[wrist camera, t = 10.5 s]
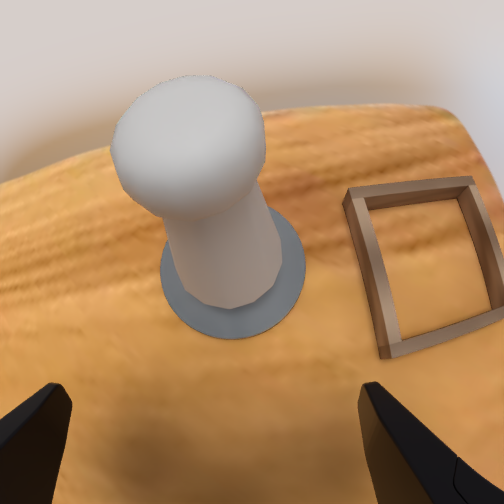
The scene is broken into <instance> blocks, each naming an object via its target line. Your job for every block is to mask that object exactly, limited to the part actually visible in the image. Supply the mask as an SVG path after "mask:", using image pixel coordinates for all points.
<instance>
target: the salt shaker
mask: <svg viewBox="0 0 504 504" xmlns="http://www.w3.org/2000/svg"><path fill="white" fill-rule="evenodd" d="M110 153H111V156H112V159H113V162H114V165H115V169H116V172H117V175H118V177H119V180H120V182H121V185H122V187H123V190H124V191H125V192H126V193H127V194H128V195H129V196H130V197H131V198H132V199H133V200H134V201H136V202H137V203H138V204H140V205H141V206H143V207H144V208H145V209H147V210H148V211H150V212H151V213H153V214H154V215H155V216H158V217H162V218H163V221H164V225H165V229H166V233H167V237H168V241H169V245H170V249H171V253H172V257H173V261H174V265H175V268H176V271H177V273H178V275H179V278H180V280H181V282H182V284H183V287H184V289H185V290H186V291H187V292H188V293H190V294H191V295H193V296H194V297H195V298H197V299H198V300H199V301H201V302H202V303H204V304H206V305H211V306H216V307H221V308H226V309H233V308H236V307H239V306H243V305H246V304H249V303H253V302H254V301H256V300H257V299H258V298H259V297H260V296H262V295H263V294H264V293H265V292H266V291H268V290H269V289H270V288H271V287H272V286H273V285H274V282H275V280H276V277H277V275H278V272H279V270H280V267H281V265H282V251H281V239H280V237H279V234H278V232H277V229H276V227H275V224H274V222H273V219H272V217H271V214H270V212H269V209H268V207H267V204H266V202H265V199H264V197H263V195H262V192H261V190H260V187H259V185H258V182H257V177H258V175H259V173H260V171H261V169H262V167H263V165H264V163H265V155H266V143H265V130H264V120H263V117H262V114H261V111H260V108H259V106H258V105H257V103H256V102H255V101H254V100H253V99H252V98H251V97H250V96H249V94H248V93H247V92H246V91H245V90H244V89H243V88H241V87H239V86H236V85H234V84H231V83H229V82H227V81H224V80H221V79H219V78H216V77H213V76H183V77H179V78H176V79H172V80H169V81H166V82H162V83H159V84H158V85H156V86H154V87H153V88H152V89H150V90H148V91H147V92H145V93H144V94H142V95H141V96H139V97H138V98H137V99H136V100H135V101H134V102H133V104H132V105H131V106H130V107H129V108H128V110H127V111H126V112H125V114H124V115H123V116H122V117H121V119H120V120H119V122H118V123H117V125H116V127H115V131H114V135H113V139H112V143H111V148H110Z"/></svg>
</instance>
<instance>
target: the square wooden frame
mask: <svg viewBox="0 0 504 504" xmlns="http://www.w3.org/2000/svg"><path fill="white" fill-rule="evenodd" d="M454 198H457V200H458V202H459V205H460V207H461V210H462V212H463V215H464V217H465V220H466V223H467V225H468V228H469V231H470V234H471V237H472V240H473V243H474V246H475V249H476V252H477V255H478V258H479V261H480V265H481V268H482V271H483V275H484V279H485V282H486V286H487V290H488V294H489V298H490V302H491V306H492V310H490V311H488V312H485V313H482V314H480V315H477V316H474V317H472V318H469V319H466V320H463V321H461V322H458V323H455V324H452V325H449V326H446V327H443V328H440V329H437V330H434V331H431V332H428V333H424V334H421V335H418V336H415V337H411V338H408V339H404V340H402V339H401V334H400V329H399V324H398V320H397V315H396V311H395V306H394V302H393V298H392V294H391V290H390V286H389V282H388V278H387V274H386V270H385V266H384V263H383V259H382V255H381V252H380V248H379V245H378V242H377V238H376V235H375V231H374V228H373V225H372V222H371V219H370V215H369V212H368V210H372V209H379V208H386V207H393V206H401V205H408V204H415V203H423V202H430V201H438V200H446V199H454ZM343 207H344V210H345V213H346V217H347V220H348V224H349V227H350V231H351V234H352V238H353V241H354V245H355V249H356V252H357V256H358V260H359V264H360V268H361V272H362V276H363V280H364V284H365V288H366V292H367V297H368V301H369V306H370V310H371V315H372V319H373V324H374V329H375V334H376V339H377V344H378V349H379V354H380V359H391V358H395V357H399V356H402V355H405V354H409V353H412V352H415V351H418V350H421V349H424V348H427V347H430V346H433V345H436V344H439V343H442V342H445V341H448V340H451V339H453V338H456V337H459V336H461V335H464V334H467V333H469V332H472V331H474V330H477V329H479V328H482V327H484V326H487V325H489V324H492V323H494V322H496V321H499V320H501V319H503V318H504V258H503V255H502V252H501V249H500V246H499V243H498V240H497V237H496V234H495V231H494V228H493V226H492V223H491V220H490V218H489V215H488V213H487V210H486V208H485V205H484V203H483V200H482V198H481V196H480V193H479V191H478V189H477V186H476V184H475V182H474V180H473V178H472V176H461V177H448V178H437V179H426V180H416V181H406V182H396V183H387V184H378V185H370V186H361V187H353V188H348V190H347V193H346V195H345V198H344V200H343Z"/></svg>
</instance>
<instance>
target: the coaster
mask: <svg viewBox="0 0 504 504" xmlns="http://www.w3.org/2000/svg"><path fill="white" fill-rule="evenodd" d="M267 207H268V206H267ZM268 209H269V212H270V214H271V217H272V219H273V222H274V224H275V227H276V229H277V232H278V234H279V237H280V239H281V251H282V265H281V267H280V270H279V272H278V275H277V277H276V280H275V282H274V285H273V286H272V287H271V288H270V289H269V290H268V291H266V292H265V293H264V294H263V295H262V296H260V297H259V298H258V299H257V300H256V301H254V302H253V303H249V304H246V305H243V306H239V307H236V308H233V309H226V308H221V307H216V306H211V305H206V304H204V303H202V302H201V301H199V300H198V299H197V298H195V297H194V296H193V295H191V294H190V293H188V292H187V291H186V290H185V289H184V287H183V284H182V282H181V280H180V278H179V275H178V273H177V271H176V268H175V265H174V261H173V257H172V253H171V249H170V245H169V241H168V240H167V242H166V245H165V247H164V250H163V254H162V258H161V266H160V276H161V283H162V288H163V291H164V294H165V297H166V299H167V301H168V303H169V305H170V306H171V308H172V309H173V311H174V312H175V313H176V314H177V315H178V317H179V318H180V319H181V320H183V321H184V322H185V323H186V324H187V325H189V326H190V327H192V328H193V329H195V330H197V331H199V332H201V333H203V334H206V335H209V336H212V337H215V338H221V339H243V338H248V337H252V336H255V335H258V334H260V333H263V332H265V331H267V330H268V329H270V328H272V327H273V326H275V325H276V324H277V323H279V322H280V321H281V320H282V319H283V318H284V317H285V316H286V315H287V314H288V313H289V311H290V310H291V309H292V307H293V306H294V304H295V302H296V301H297V299H298V297H299V294H300V292H301V289H302V286H303V282H304V278H305V269H306V267H305V255H304V250H303V247H302V244H301V241H300V239H299V237H298V235H297V233H296V231H295V230H294V228H293V227H292V225H291V224H290V223H289V222H288V221H287V220H286V219H285V218H284V217H283V216H282V215H281V214H280V213H278V212H277V211H275V210H274V209H272V208H270V207H268Z"/></svg>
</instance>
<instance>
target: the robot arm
mask: <svg viewBox="0 0 504 504" xmlns="http://www.w3.org/2000/svg"><path fill="white" fill-rule="evenodd" d="M71 411H72V401H71V399H70V397H69V396H68V394H67V392H66V391H65V389H64V387H63V386H62V385H61V384H59V383H52V382H51V383H48V384H47V385H46V386H44V387H43V388H42V389H40V390H39V391H38V392H36V393H35V394H34V395H32V396H31V397H29V398H28V399H27V400H25V401H24V402H23V403H21V404H20V405H19V406H17V407H16V408H15V409H13V410H12V411H11V412H9V413H8V414H7V415H6V416H4V417H3V418H2V419H0V504H52V500H53V495H54V490H55V486H56V481H57V477H58V473H59V469H60V465H61V461H62V457H63V453H64V449H65V445H66V439H67V433H68V427H69V422H70V417H71ZM358 413H359V419H360V425H361V431H362V438H363V445H364V451H365V456H366V460H367V464H368V467H369V471H370V475H371V479H372V482H373V486H374V490H375V494H376V498H377V501H378V504H504V491H502V490H501V489H499V488H498V487H496V486H495V485H493V484H492V483H490V482H489V481H488V480H486V479H485V478H484V477H482V476H481V475H480V474H478V473H477V472H476V471H475V470H474V469H472V468H471V467H470V466H469V465H468V464H467V463H465V462H464V461H463V460H462V459H461V458H460V457H457V455H456V454H455V453H454V452H453V451H452V450H451V449H450V448H449V447H448V446H447V445H446V444H444V443H443V442H442V441H441V440H440V439H439V438H438V437H437V436H436V435H435V434H434V433H432V432H431V431H430V430H429V429H428V428H427V427H426V426H425V425H424V424H423V423H422V422H420V421H419V420H418V419H417V418H416V417H415V416H414V415H413V414H412V413H411V412H410V411H409V410H407V409H406V408H405V407H404V406H403V405H402V404H401V403H400V402H399V401H398V400H397V399H396V398H394V397H393V396H392V395H391V394H390V393H389V392H388V391H387V390H386V389H385V388H384V387H383V386H381V385H380V384H379V383H378V382H369V383H364V384H363V385H362V387H361V391H360V395H359V399H358Z"/></svg>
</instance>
